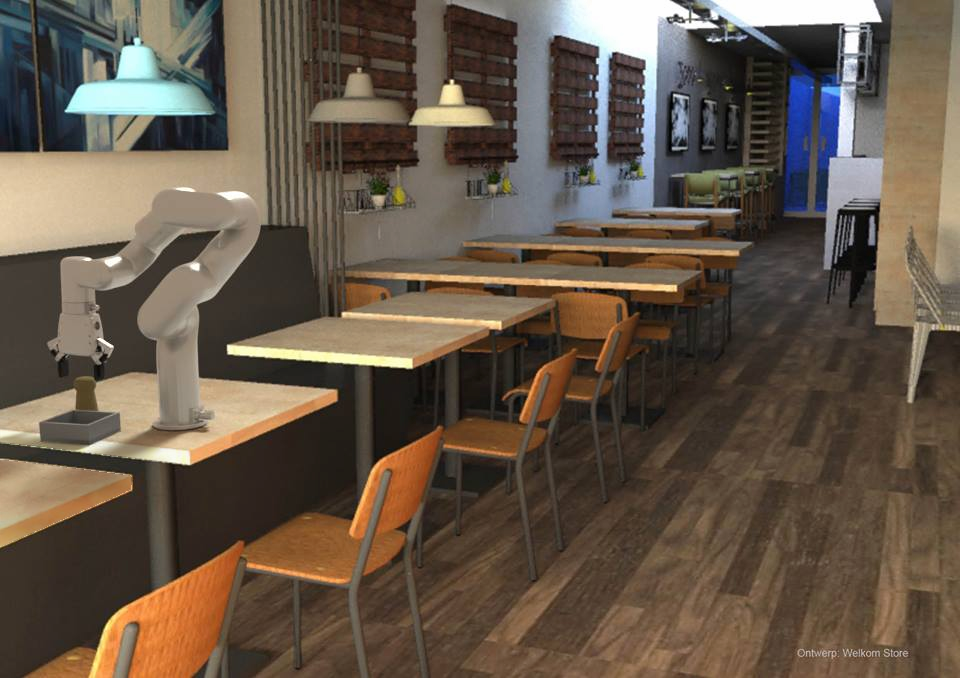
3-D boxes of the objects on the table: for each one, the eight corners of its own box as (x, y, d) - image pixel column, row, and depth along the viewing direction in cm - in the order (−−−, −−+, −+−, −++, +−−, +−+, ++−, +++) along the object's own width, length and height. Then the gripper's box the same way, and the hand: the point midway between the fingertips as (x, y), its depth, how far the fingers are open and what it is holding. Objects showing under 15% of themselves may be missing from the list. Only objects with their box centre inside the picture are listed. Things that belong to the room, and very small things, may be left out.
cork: (73, 424, 260) (70, 380, 258) (75, 419, 266) (72, 375, 264) (99, 423, 261) (96, 378, 259) (101, 417, 267) (98, 373, 265)
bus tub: (120, 430, 254) (119, 412, 253) (89, 445, 242) (88, 425, 241) (73, 427, 257) (72, 409, 256) (40, 441, 245) (39, 422, 244)
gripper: (119, 308, 260) (121, 377, 263) (56, 304, 264) (59, 372, 267) (102, 312, 253) (104, 384, 256) (37, 308, 257) (40, 378, 260)
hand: (81, 378), depth 262 cm, fingers open, 9 cm apart
